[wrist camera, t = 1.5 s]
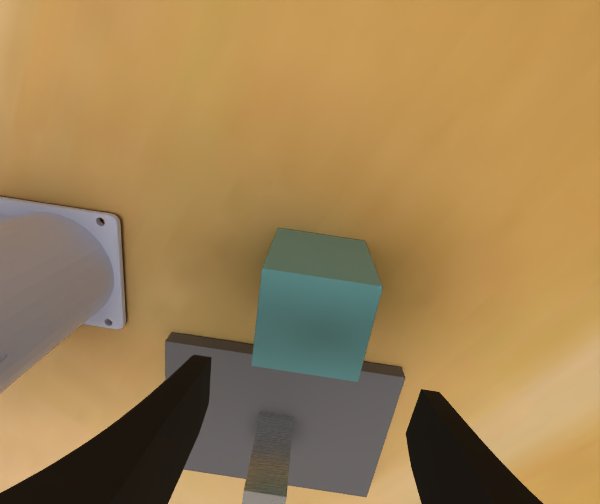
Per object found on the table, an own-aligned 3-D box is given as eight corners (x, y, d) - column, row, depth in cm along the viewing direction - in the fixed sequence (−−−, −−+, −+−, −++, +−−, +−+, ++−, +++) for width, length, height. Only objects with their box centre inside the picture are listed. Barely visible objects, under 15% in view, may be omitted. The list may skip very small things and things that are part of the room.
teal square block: (268, 303, 22) (251, 365, 16) (278, 227, 20) (262, 268, 14) (347, 315, 22) (358, 381, 16) (364, 240, 20) (382, 286, 14)
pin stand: (171, 455, 27) (128, 549, 21) (171, 332, 23) (118, 407, 17) (364, 484, 27) (378, 587, 21) (401, 367, 23) (431, 454, 17)
